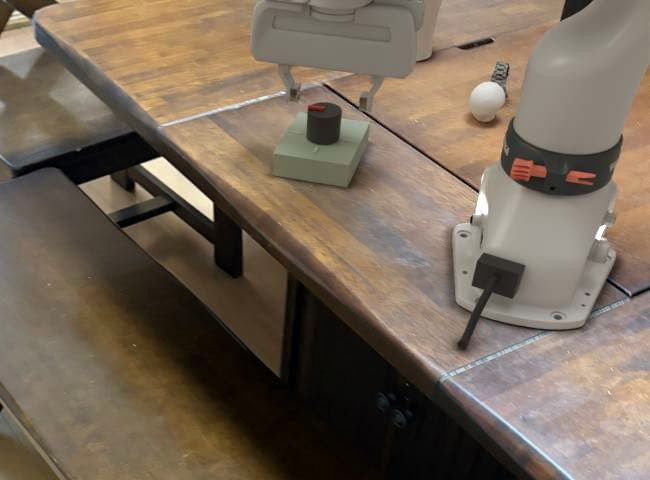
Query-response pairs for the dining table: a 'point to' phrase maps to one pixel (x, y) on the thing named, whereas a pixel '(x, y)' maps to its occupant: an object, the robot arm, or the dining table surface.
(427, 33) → the cup
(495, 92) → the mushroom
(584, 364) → the dining table surface
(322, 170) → the panel
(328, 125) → the dial
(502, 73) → the wristwatch
